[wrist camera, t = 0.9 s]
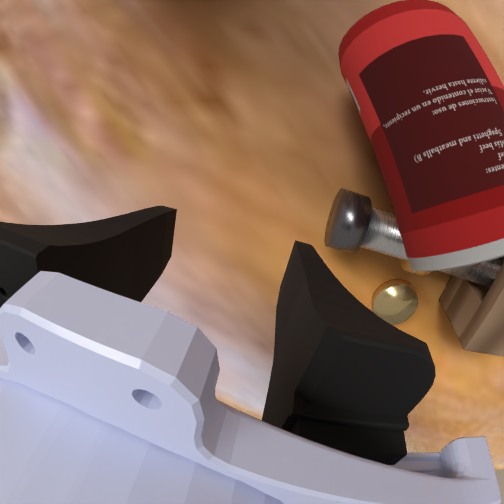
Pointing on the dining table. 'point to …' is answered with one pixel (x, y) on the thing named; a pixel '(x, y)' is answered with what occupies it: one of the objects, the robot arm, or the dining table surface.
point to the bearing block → (476, 313)
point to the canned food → (432, 129)
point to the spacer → (394, 301)
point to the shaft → (385, 236)
